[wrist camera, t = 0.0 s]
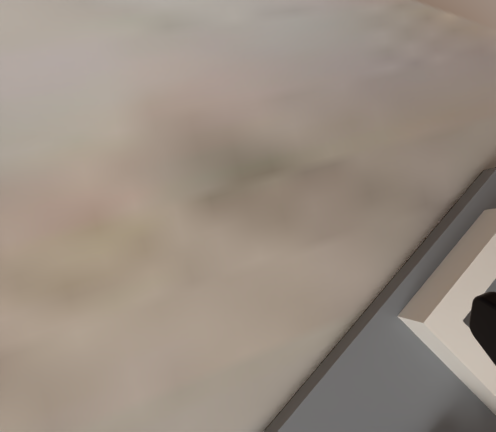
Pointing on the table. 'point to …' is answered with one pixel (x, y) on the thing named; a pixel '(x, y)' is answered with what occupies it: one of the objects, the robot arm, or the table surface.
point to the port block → (459, 308)
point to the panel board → (396, 355)
